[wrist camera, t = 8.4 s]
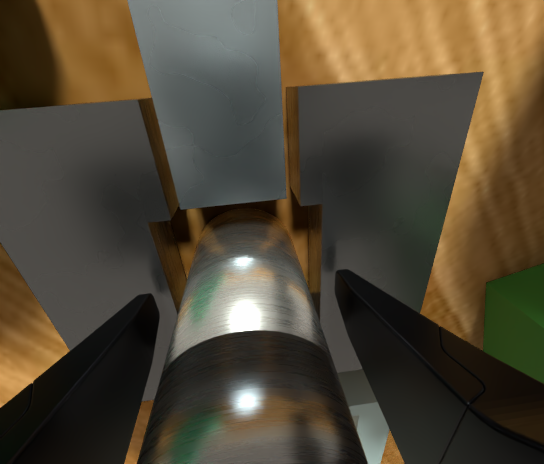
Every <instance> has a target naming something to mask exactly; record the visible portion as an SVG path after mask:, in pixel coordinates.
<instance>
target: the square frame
mask: <svg viewBox="0 0 544 464" xmlns="http://www.w3.org/2000/svg"><path fill="white" fill-rule="evenodd" d="M337 374H338V377H339V379H340V382H341V385H342V388H343V391H344V394H345V397H346V400H347V403H348V406H349V409H350V412H351V414H352V417H353V420H354V423H355V426H356V429H357V432H358V435H359V438H360V441H361V444H362V447H363V449H364V452H365V455H366V458H367V461H368V464H380V463H381V459H382V455H383V451H384V448H385V444H386V440H387V436H388V433H389V427H388V425H387V422H386V420H385V418H384V416H383V413H382V411H381V409H380V407H379V404H378V402H377V400H376V398H375V395H374V393H373V391H372V389H371V386H370V384H369V382H368V380H367V378H366V375H365V373H364V371H363V369H361V370H354V371H347V372H340V373H337Z"/></svg>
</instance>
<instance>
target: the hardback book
mask: <svg viewBox="0 0 544 464" xmlns="http://www.w3.org/2000/svg"><path fill="white" fill-rule="evenodd" d="M483 351H484V352H486V353H487V354H489V355H491V356H493V357H495V358H497V359H498V360H500V361H502V362H504V363H506V364H508V365H510V366H512V367H514V368H515V369H517V370H519V371H521V372H523V373H525V374H527V375H529V376H531V377H532V378H534V379H536V380H538V381H540V382H542V383H544V263H543V264H540V265H537V266H534V267H531V268H529V269H526V270H523V271H520V272H517V273H514V274H511V275H508V276H505V277H502V278H499V279H496V280H493V281H490V282H487V283H486V297H485V319H484V340H483Z"/></svg>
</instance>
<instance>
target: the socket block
mask: <svg viewBox="0 0 544 464" xmlns="http://www.w3.org/2000/svg"><path fill="white" fill-rule="evenodd" d="M483 73H484V72H474V73H460V74H445V75H432V76H419V77H407V78H394V79H382V80H369V81H357V82H344V83H332V84H320V85H307V86H295V87H286V96H287V121H288V146H289V172H290V187H291V189H292V191H293V193H294V195H295V196H296V198H297V200H298V202H299V204H300V206H308V228H309V292H310V295H311V298H312V301H313V304H314V307H315V309H316V312H317V315H318V318H319V321H320V324H321V327H322V330H323V333H324V336H325V339H326V342H327V344H328V347H329V350H330V353H331V356H332V359H333V362H334V365H335V368H336V371H337V373H340V372H347V371H354V370H361V369H362V366H361V364H360V362H359V360H358V357H357V355H356V353H355V351H354V348H353V346H352V344H351V342H350V339H349V337H348V334H347V331H346V328H345V325H344V322H343V319H342V315H341V312H340V309H339V306H338V303H337V299H336V296H335V291H334V286H335V273H336V271H337V270H343V269H348V270H350V271H352V272H354V273H355V274H357V275H358V276H360V277H362V278H363V279H365V280H367V281H368V282H370V283H371V284H373V285H375V286H376V287H378V288H380V289H381V290H383V291H384V292H386V293H388V294H389V295H391V296H393V297H394V298H396V299H397V300H399V301H401V302H402V303H404V304H405V305H407V306H409V307H410V308H412V309H414V310H415V311H417V312H418V313H420V311H421V307H422V304H423V300H424V296H425V292H426V289H427V285H428V281H429V277H430V273H431V270H432V266H433V262H434V258H435V254H436V251H437V247H438V243H439V239H440V235H441V232H442V228H443V224H444V220H445V217H446V213H447V209H448V205H449V201H450V198H451V194H452V190H453V186H454V182H455V179H456V175H457V171H458V167H459V163H460V160H461V156H462V152H463V148H464V145H465V141H466V137H467V133H468V129H469V126H470V122H471V118H472V114H473V110H474V107H475V103H476V99H477V95H478V91H479V88H480V84H481V80H482V76H483ZM178 206H179V201H178V198H177V194H176V190H175V186H174V182H173V178H172V174H171V170H170V166H169V162H168V158H167V154H166V150H165V146H164V142H163V138H162V134H161V131H160V127H159V123H158V119H157V115H156V111H155V107H154V103H153V99H152V98H145V99H133V100H120V101H108V102H95V103H83V104H70V105H58V106H45V107H33V108H20V109H8V110H0V243H1V244H2V246H3V247H4V249H5V250H6V252H7V254H8V255H9V257H10V258H11V260H12V261H13V263H14V264H15V266H16V267H17V269H18V271H19V272H20V274H21V275H22V277H23V278H24V280H25V281H26V283H27V285H28V286H29V288H30V289H31V291H32V292H33V294H34V295H35V297H36V298H37V300H38V302H39V303H40V305H41V306H42V308H43V309H44V311H45V312H46V314H47V316H48V317H49V319H50V320H51V322H52V323H53V325H54V326H55V328H56V330H57V331H58V333H59V334H60V336H61V337H62V339H63V340H64V342H65V343H66V345H67V347H68V348H69V350H70V351H71V350H72V349H73V348H74V347H76V346H77V345H78V344H79V343H80V342H82V341H83V340H84V339H85V338H86V337H88V336H89V335H90V334H91V333H93V332H94V331H95V330H96V329H97V328H99V327H100V326H101V325H102V324H103V323H105V322H106V321H107V320H108V319H110V318H111V317H112V316H113V315H114V314H116V313H117V312H118V311H119V310H121V309H122V308H123V307H124V306H125V305H127V304H128V303H129V302H130V301H131V300H133V299H134V298H135V297H136V296H138V295H140V294H148V293H151V294H152V295H153V296H154V299H155V301H156V304H157V307H158V309H159V313H160V320H159V326H158V332H157V338H156V344H155V350H154V356H153V362H152V366H151V370H150V373H149V377H148V380H147V384H146V387H145V391H144V395H143V398H142V401H149V400H154V399H155V396H156V392H157V389H158V385H159V381H160V378H161V374H162V370H163V367H164V363H165V359H166V356H167V352H168V348H169V345H170V341H171V338H172V334H173V330H174V327H175V323H176V319H177V316H178V312H179V308H180V305H181V301H182V298H183V294H184V290H185V287H186V283H187V279H186V276H185V272H184V269H183V265H182V262H181V258H180V254H179V251H178V247H177V244H176V240H175V237H174V233H173V229H172V226H171V222H170V220H171V219H172V217H173V215H174V214H175V212H176V210H177V208H178Z"/></svg>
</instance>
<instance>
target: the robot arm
mask: <svg viewBox="0 0 544 464" xmlns="http://www.w3.org/2000/svg"><path fill="white" fill-rule="evenodd" d="M334 291H335V296H336V299H337V303H338V306H339V309H340V312H341V315H342V319H343V322H344V325H345V328H346V331H347V334H348V337H349V339H350V342H351V344H352V346H353V348H354V351H355V353H356V355H357V357H358V360H359V362H360V364H361V366H362V369H363V371H364V373H365V375H366V378H367V380H368V382H369V384H370V386H371V389H372V391H373V393H374V395H375V398H376V400H377V402H378V404H379V407H380V409H381V411H382V413H383V416H384V418H385V420H386V422H387V425H388V427H389V429H390V431H391V434H392V436H393V438H394V440H395V443H396V445H397V447H398V449H399V451H400V454H401V456H402V458H403V460H404V463H405V464H544V383H542V382H540V381H538V380H536V379H534V378H532V377H531V376H529V375H527V374H525V373H523V372H521V371H519V370H517V369H515V368H514V367H512V366H510V365H508V364H506V363H504V362H502V361H500V360H498V359H497V358H495V357H493V356H491V355H489V354H487V353H486V352H484V351H482V350H480V349H478V348H477V347H475V346H473V345H471V344H470V343H468V342H466V341H464V340H463V339H461V338H459V337H458V336H456V335H454V334H453V333H451V332H449V331H448V330H446V329H445V328H443V327H441V326H440V327H439V325H438V324H436V323H435V322H433V321H431V320H430V319H428V318H427V317H425V316H423V315H422V314H420V313H418V312H417V311H415V310H414V309H412V308H410V307H409V306H407V305H405V304H404V303H402V302H401V301H399V300H397V299H396V298H394V297H393V296H391V295H389V294H388V293H386V292H384V291H383V290H381V289H380V288H378V287H376V286H375V285H373V284H371V283H370V282H368V281H367V280H365V279H363V278H362V277H360V276H358V275H357V274H355V273H354V272H352V271H350V270H348V269H343V270H337V271H336V273H335V286H334ZM159 320H160V313H159V309H158V307H157V304H156V301H155V299H154V296H153V295H152V294H151V293H148V294H140V295H138V296H136V297H135V298H134V299H133V300H131V301H130V302H129V303H128V304H127V305H125V306H124V307H123V308H122V309H121V310H119V311H118V312H117V313H116V314H114V315H113V316H112V317H111V318H110V319H108V320H107V321H106V322H105V323H103V324H102V325H101V326H100V327H99V328H97V329H96V330H95V331H94V332H93V333H91V334H90V335H89V336H88V337H86V338H85V339H84V340H83V341H82V342H80V343H79V344H78V345H77V346H76V347H74V348H73V349H72V350H71V351H69V352H68V353H67V354H66V355H65V356H63V357H62V358H61V359H60V360H59V361H57V362H56V363H55V364H54V365H52V366H51V367H50V368H49V369H48V370H46V371H45V372H44V373H43V374H41V375H40V376H39V377H38V378H37V379H35V380H34V382H33V383H31V384H29V385H28V386H27V387H26V388H24V389H23V390H22V391H21V392H20V393H18V394H17V395H16V396H15V397H13V398H12V399H11V400H10V401H8V402H7V403H6V404H5V405H3V406H2V407H1V408H0V464H124V462H125V459H126V455H127V452H128V448H129V444H130V441H131V437H132V434H133V430H134V427H135V423H136V419H137V416H138V412H139V409H140V405H141V402H142V398H143V395H144V391H145V387H146V384H147V380H148V377H149V373H150V370H151V366H152V362H153V356H154V350H155V344H156V338H157V332H158V326H159Z"/></svg>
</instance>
